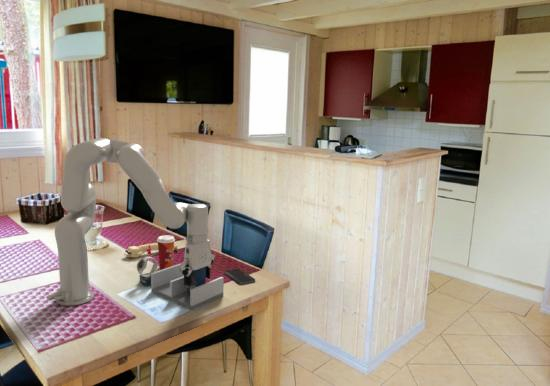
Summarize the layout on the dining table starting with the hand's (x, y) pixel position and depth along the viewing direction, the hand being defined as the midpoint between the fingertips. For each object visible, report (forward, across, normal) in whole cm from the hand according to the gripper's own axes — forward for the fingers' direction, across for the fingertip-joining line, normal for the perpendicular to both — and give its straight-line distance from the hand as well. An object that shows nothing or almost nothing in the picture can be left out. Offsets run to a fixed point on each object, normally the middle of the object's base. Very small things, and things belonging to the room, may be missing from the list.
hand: (197, 281), depth 164 cm
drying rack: (+7, 0, +6) cm, 9 cm away
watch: (+7, -4, +24) cm, 26 cm away
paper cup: (+7, +12, +32) cm, 35 cm away
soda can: (+5, 0, 0) cm, 5 cm away
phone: (+7, +26, +2) cm, 27 cm away
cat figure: (+7, +19, +52) cm, 56 cm away
